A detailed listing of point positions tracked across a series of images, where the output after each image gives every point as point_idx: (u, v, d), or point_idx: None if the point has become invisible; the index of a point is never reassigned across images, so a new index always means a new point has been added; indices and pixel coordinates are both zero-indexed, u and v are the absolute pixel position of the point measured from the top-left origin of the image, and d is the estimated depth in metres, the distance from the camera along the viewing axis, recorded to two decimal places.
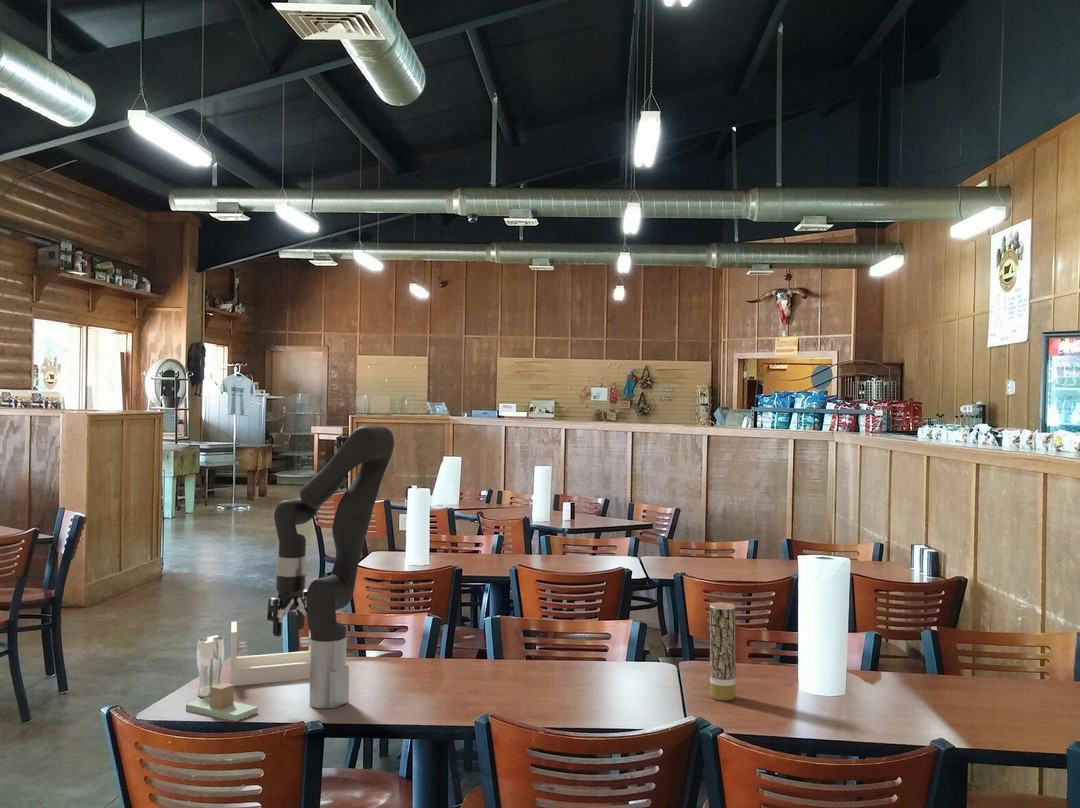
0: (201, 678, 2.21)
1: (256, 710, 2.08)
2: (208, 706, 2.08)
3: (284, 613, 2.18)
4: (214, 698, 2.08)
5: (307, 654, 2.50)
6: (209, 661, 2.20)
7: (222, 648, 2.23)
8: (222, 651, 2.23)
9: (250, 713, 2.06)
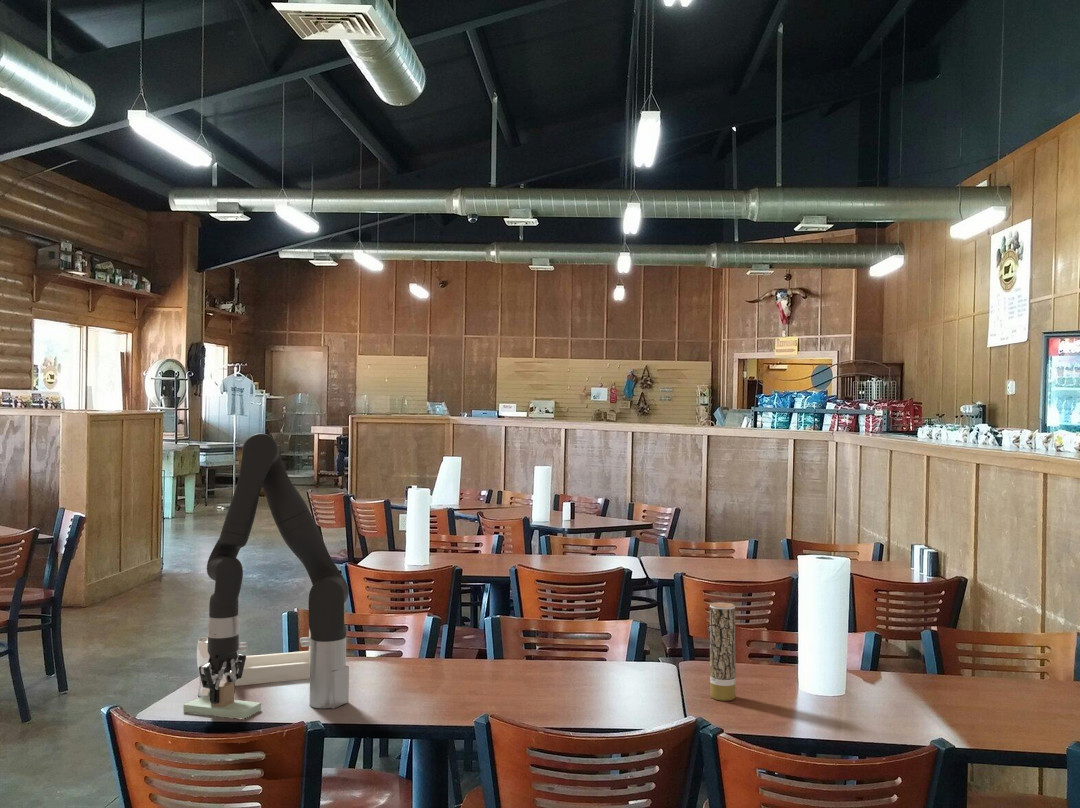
0: None
1: (259, 706, 2.09)
2: (208, 705, 2.08)
3: (219, 679, 2.07)
4: None
5: (307, 654, 2.50)
6: None
7: None
8: None
9: (255, 709, 2.08)
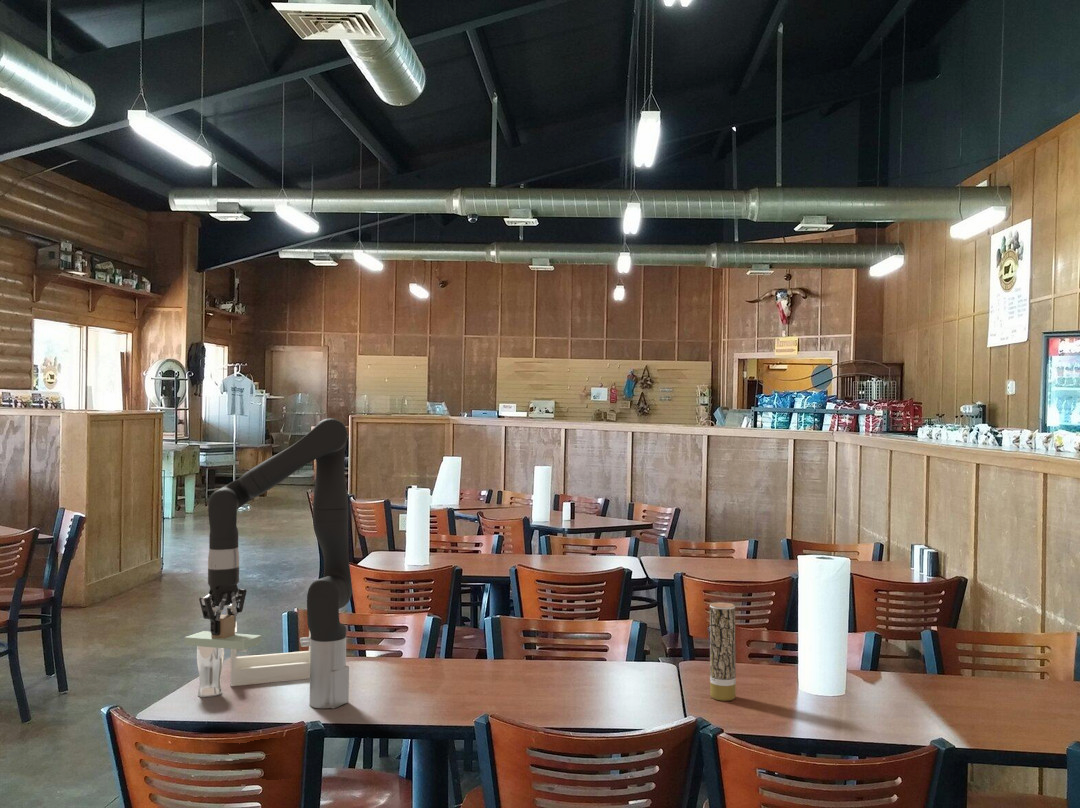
0: (201, 678, 2.21)
1: (260, 638, 2.10)
2: (209, 637, 2.08)
3: (220, 610, 2.07)
4: None
5: (307, 654, 2.50)
6: (209, 661, 2.20)
7: (222, 648, 2.23)
8: (222, 651, 2.23)
9: (255, 641, 2.08)
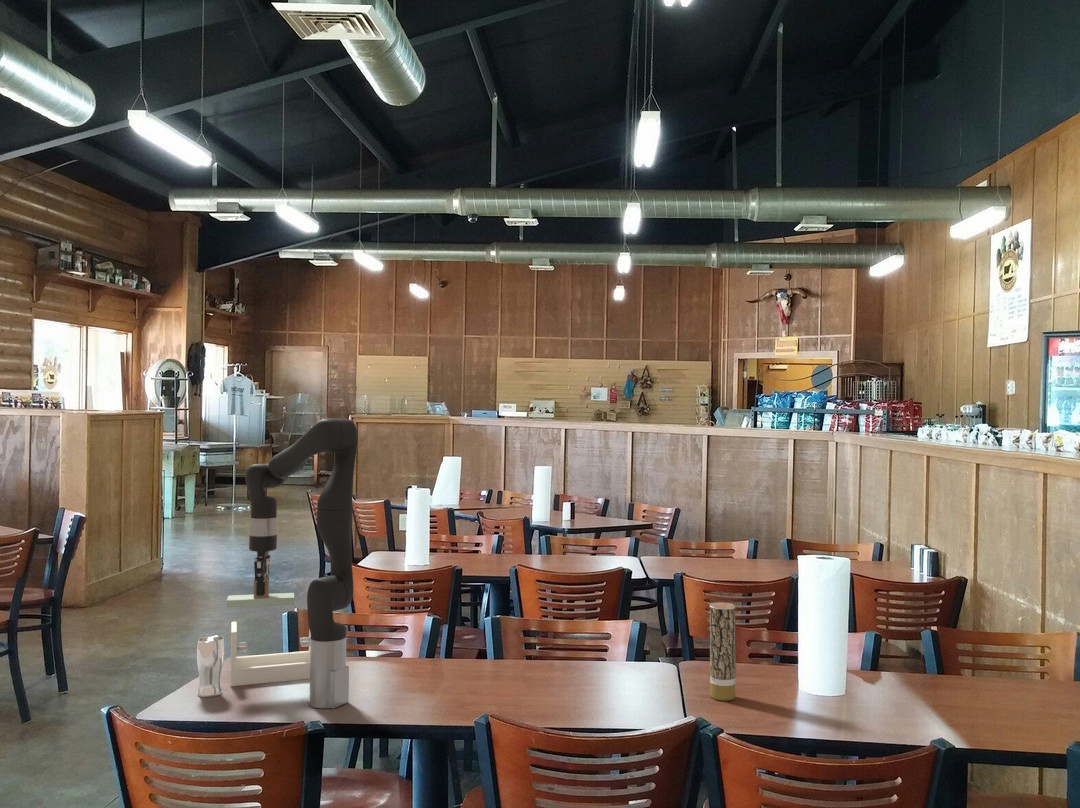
0: (201, 678, 2.21)
1: None
2: (252, 598, 2.30)
3: (266, 572, 2.31)
4: None
5: (307, 654, 2.50)
6: (209, 661, 2.20)
7: (222, 648, 2.23)
8: (222, 651, 2.23)
9: None
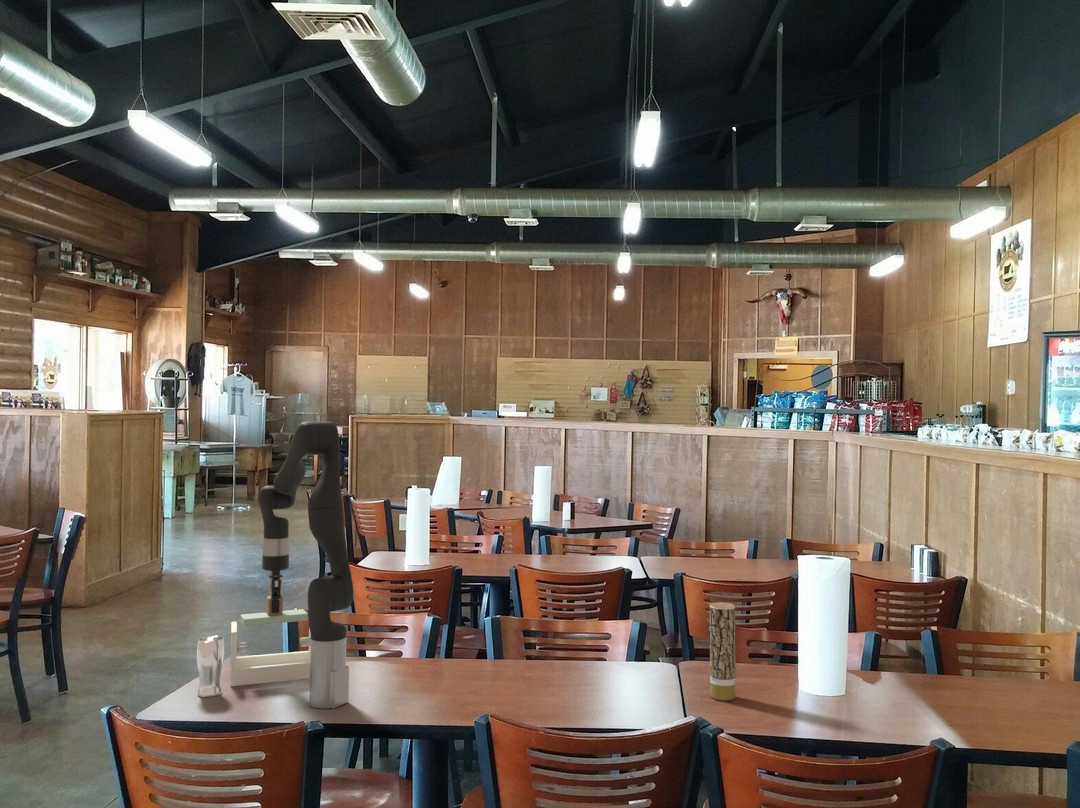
0: (201, 678, 2.21)
1: None
2: (267, 616, 2.38)
3: (281, 590, 2.40)
4: None
5: (307, 654, 2.50)
6: (209, 661, 2.20)
7: (222, 648, 2.23)
8: (222, 651, 2.23)
9: None
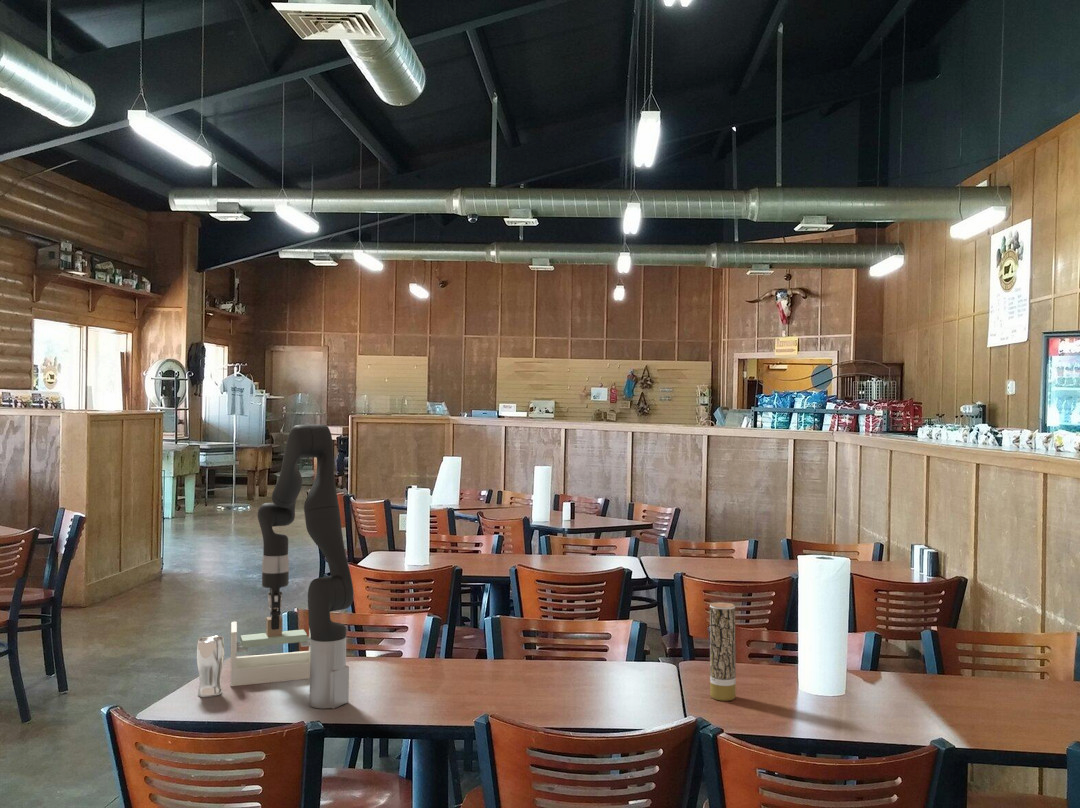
0: (201, 678, 2.21)
1: None
2: (266, 637, 2.38)
3: None
4: None
5: (307, 654, 2.50)
6: (209, 661, 2.20)
7: (222, 648, 2.23)
8: (222, 651, 2.23)
9: None
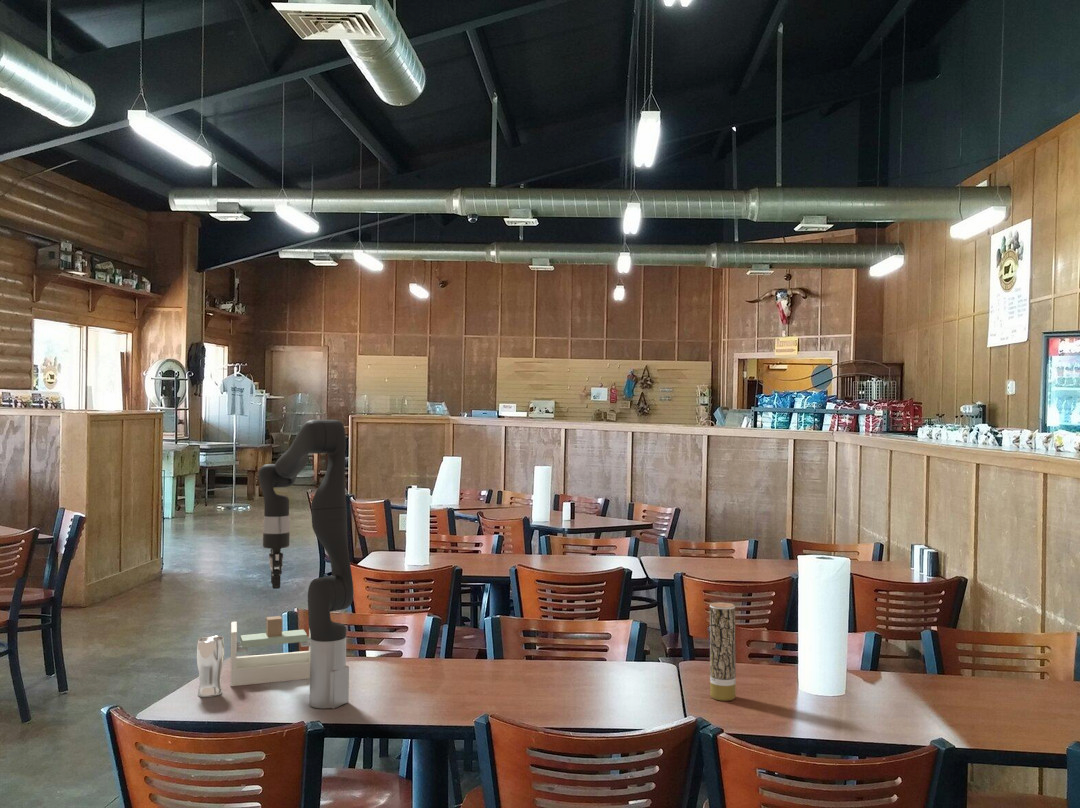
0: (201, 678, 2.21)
1: None
2: (266, 637, 2.38)
3: (282, 566, 2.39)
4: (273, 629, 2.39)
5: (307, 654, 2.50)
6: (209, 661, 2.20)
7: (222, 648, 2.23)
8: (222, 651, 2.23)
9: None
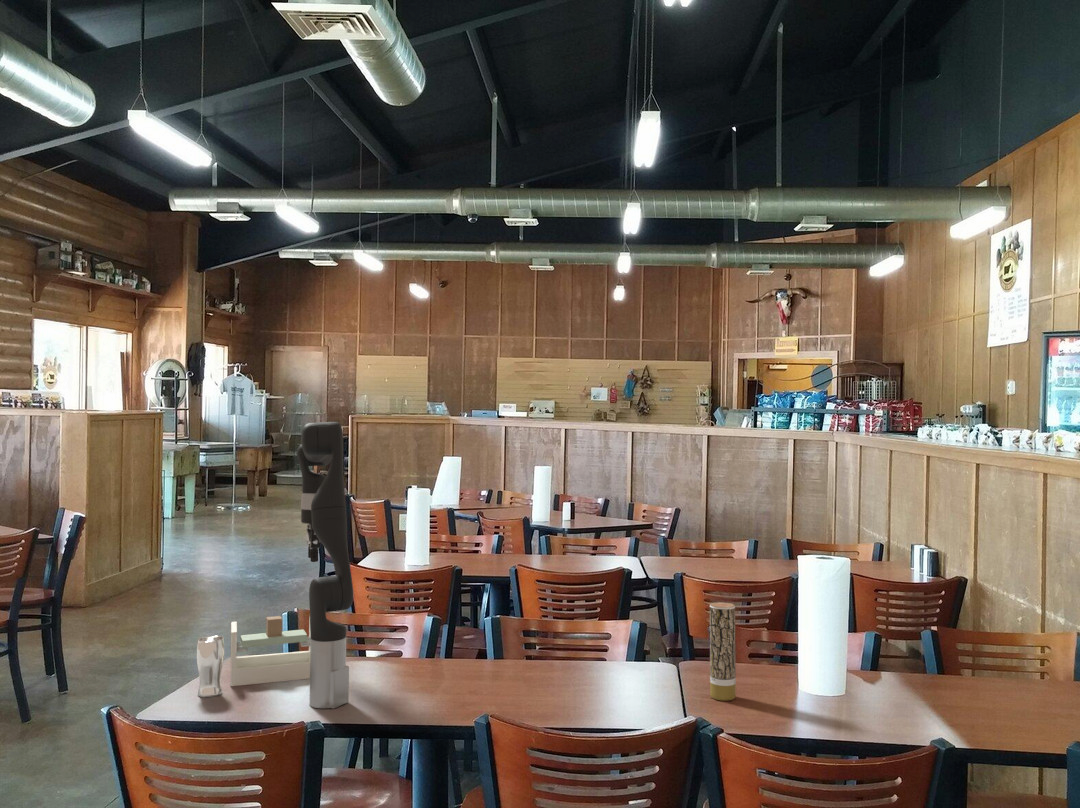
0: (201, 678, 2.21)
1: None
2: (266, 637, 2.38)
3: None
4: (273, 629, 2.39)
5: (307, 654, 2.50)
6: (209, 661, 2.20)
7: (222, 648, 2.23)
8: (222, 651, 2.23)
9: None
